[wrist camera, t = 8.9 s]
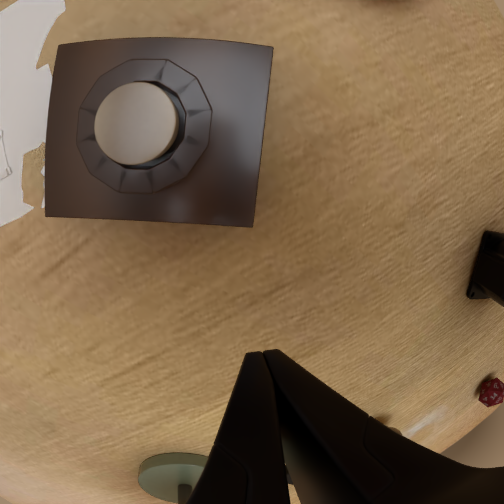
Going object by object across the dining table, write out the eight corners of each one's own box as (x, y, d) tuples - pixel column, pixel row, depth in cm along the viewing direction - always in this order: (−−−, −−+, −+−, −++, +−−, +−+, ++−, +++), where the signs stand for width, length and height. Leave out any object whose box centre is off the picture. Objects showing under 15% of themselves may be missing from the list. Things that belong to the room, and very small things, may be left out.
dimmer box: (266, 56, 16) (281, 36, 12) (247, 218, 19) (258, 237, 16) (72, 53, 14) (44, 36, 10) (59, 209, 17) (30, 225, 14)
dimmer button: (183, 89, 13) (181, 82, 11) (176, 164, 14) (172, 166, 13) (110, 88, 12) (98, 82, 11) (103, 162, 14) (91, 164, 12)
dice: (488, 370, 30) (505, 387, 26) (497, 376, 31) (513, 392, 27) (469, 392, 31) (486, 411, 27) (480, 397, 32) (495, 414, 28)
